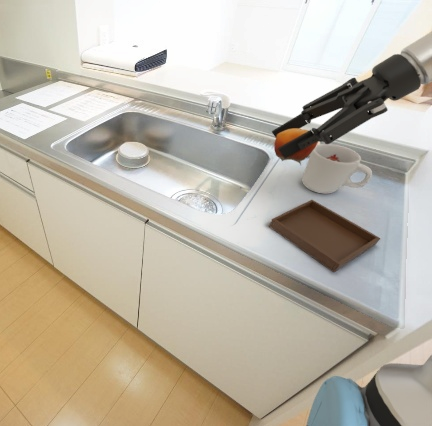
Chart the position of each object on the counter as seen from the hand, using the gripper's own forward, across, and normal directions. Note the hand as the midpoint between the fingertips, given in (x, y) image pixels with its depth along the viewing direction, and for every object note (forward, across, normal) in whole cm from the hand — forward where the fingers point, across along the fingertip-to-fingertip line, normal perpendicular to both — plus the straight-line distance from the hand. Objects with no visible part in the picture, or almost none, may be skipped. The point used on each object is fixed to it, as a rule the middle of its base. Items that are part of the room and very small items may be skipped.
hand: (278, 144), depth 63 cm
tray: (+3, -12, -19) cm, 23 cm away
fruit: (0, 0, -5) cm, 5 cm away
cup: (-2, +8, -24) cm, 25 cm away
